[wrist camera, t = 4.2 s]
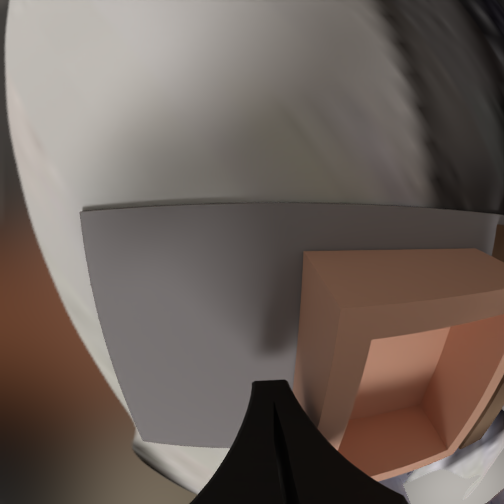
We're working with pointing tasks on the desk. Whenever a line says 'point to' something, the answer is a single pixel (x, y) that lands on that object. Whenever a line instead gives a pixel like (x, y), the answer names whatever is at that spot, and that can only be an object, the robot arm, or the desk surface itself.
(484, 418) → the end wall
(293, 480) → the robot arm
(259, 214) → the mat
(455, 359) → the socket block
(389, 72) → the desk surface
